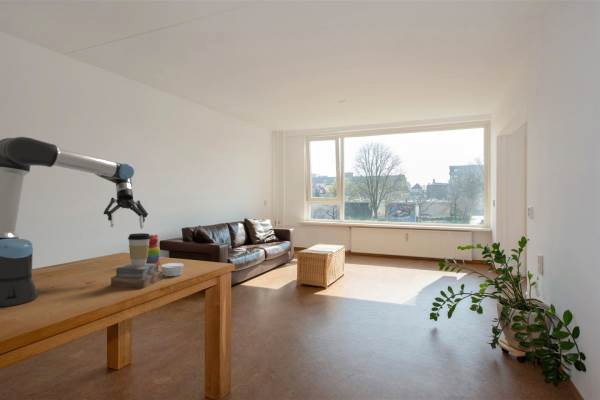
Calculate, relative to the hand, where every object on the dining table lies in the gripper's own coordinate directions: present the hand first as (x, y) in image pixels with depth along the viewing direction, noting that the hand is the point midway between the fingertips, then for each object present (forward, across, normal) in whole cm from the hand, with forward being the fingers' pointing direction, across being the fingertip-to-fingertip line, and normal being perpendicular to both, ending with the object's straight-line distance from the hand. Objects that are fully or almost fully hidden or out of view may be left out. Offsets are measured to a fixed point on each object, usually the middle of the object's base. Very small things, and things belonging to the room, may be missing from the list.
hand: (127, 226), depth 166 cm
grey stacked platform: (+27, -5, -8) cm, 28 cm away
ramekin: (+22, -24, -11) cm, 34 cm away
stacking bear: (+2, -23, -36) cm, 42 cm away
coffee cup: (+21, -4, -3) cm, 21 cm away
